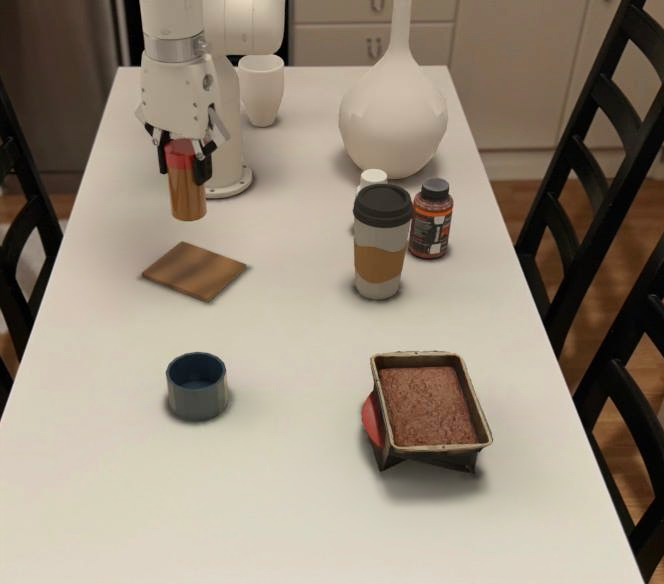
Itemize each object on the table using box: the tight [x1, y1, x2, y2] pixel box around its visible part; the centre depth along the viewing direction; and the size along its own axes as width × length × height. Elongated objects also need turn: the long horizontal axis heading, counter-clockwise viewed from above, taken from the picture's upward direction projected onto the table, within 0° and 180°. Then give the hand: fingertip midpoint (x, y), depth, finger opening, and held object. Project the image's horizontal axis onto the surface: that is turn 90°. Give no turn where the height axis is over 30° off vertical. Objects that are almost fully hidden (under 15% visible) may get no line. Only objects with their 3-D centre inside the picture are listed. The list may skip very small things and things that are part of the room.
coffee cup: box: [352, 183, 413, 300], centre depth 129 cm, size 8×8×15 cm
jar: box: [164, 137, 208, 223], centre depth 126 cm, size 5×5×10 cm
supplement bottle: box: [408, 177, 455, 259], centre depth 137 cm, size 6×6×11 cm
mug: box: [237, 53, 285, 128], centre depth 170 cm, size 12×8×11 cm
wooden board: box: [141, 240, 247, 303], centre depth 137 cm, size 12×10×1 cm
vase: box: [338, 0, 449, 180], centre depth 150 cm, size 18×18×30 cm
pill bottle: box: [354, 169, 388, 200], centre depth 142 cm, size 5×5×10 cm
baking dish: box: [361, 350, 494, 475], centre depth 109 cm, size 14×18×10 cm
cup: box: [165, 351, 229, 422], centre depth 115 cm, size 7×7×5 cm
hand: (185, 174), depth 126 cm, fingers closed on jar, 5 cm apart
